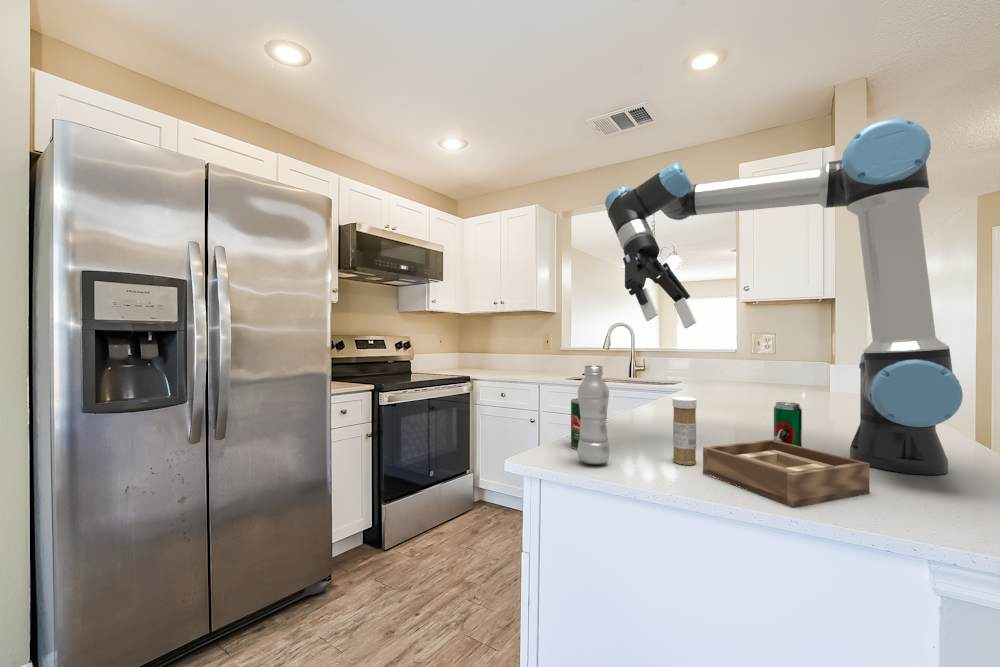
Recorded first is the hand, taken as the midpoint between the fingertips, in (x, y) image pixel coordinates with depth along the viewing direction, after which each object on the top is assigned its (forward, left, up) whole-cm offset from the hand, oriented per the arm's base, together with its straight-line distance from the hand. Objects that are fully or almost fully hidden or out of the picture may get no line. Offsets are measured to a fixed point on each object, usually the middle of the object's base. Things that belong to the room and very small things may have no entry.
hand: (672, 321), depth 97 cm
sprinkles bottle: (0, +3, -29) cm, 30 cm away
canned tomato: (+12, -15, -29) cm, 35 cm away
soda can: (-22, +9, -29) cm, 38 cm away
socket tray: (-7, +19, -29) cm, 36 cm away
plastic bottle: (+18, -3, -29) cm, 34 cm away
